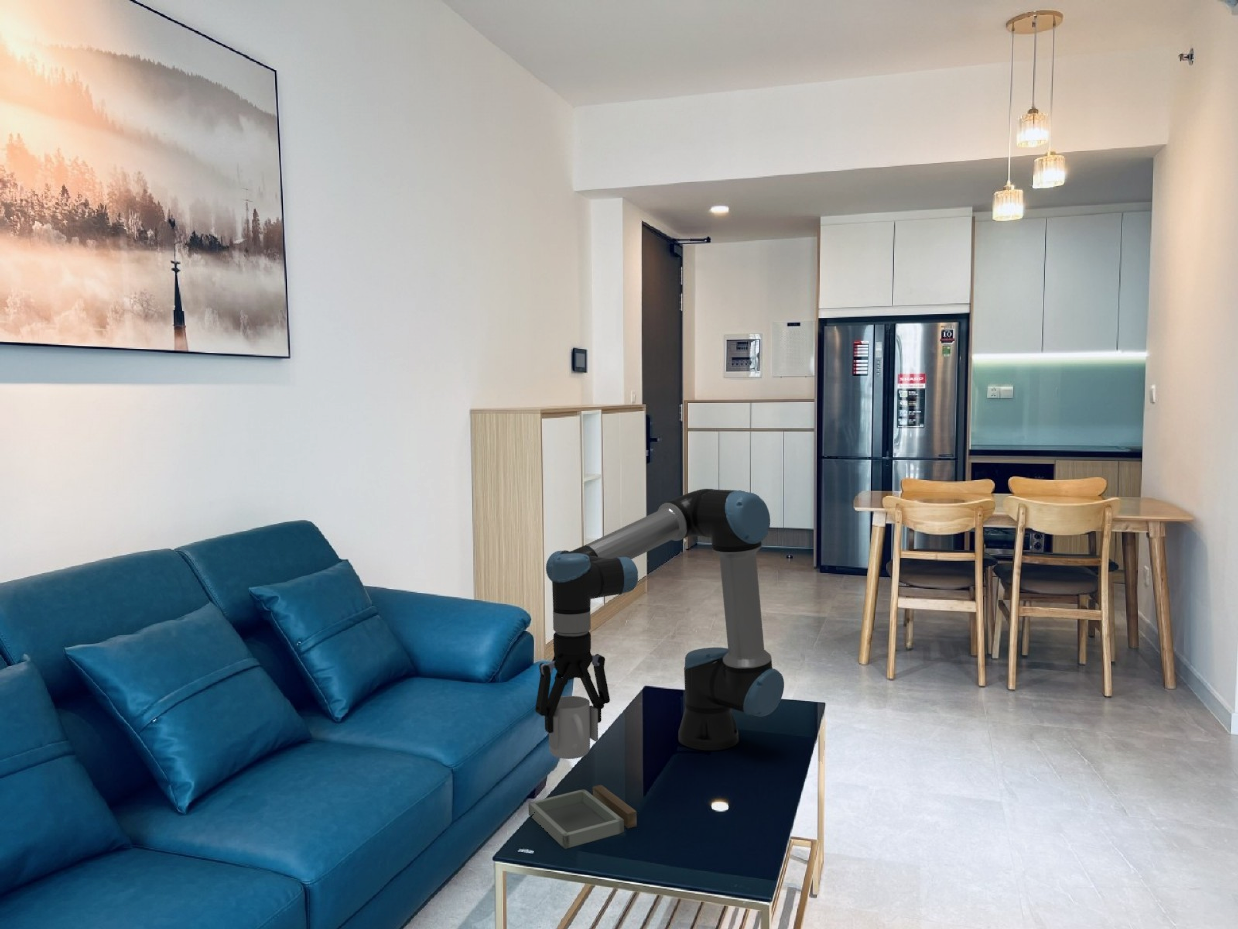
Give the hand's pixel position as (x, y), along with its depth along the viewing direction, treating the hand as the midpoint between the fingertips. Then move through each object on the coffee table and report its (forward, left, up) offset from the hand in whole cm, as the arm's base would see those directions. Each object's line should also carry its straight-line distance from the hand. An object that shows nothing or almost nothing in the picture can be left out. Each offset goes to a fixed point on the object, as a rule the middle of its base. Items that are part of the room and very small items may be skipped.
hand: (573, 743), depth 176 cm
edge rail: (-9, 0, -16) cm, 19 cm away
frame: (0, 0, -16) cm, 16 cm away
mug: (0, 0, -3) cm, 3 cm away
